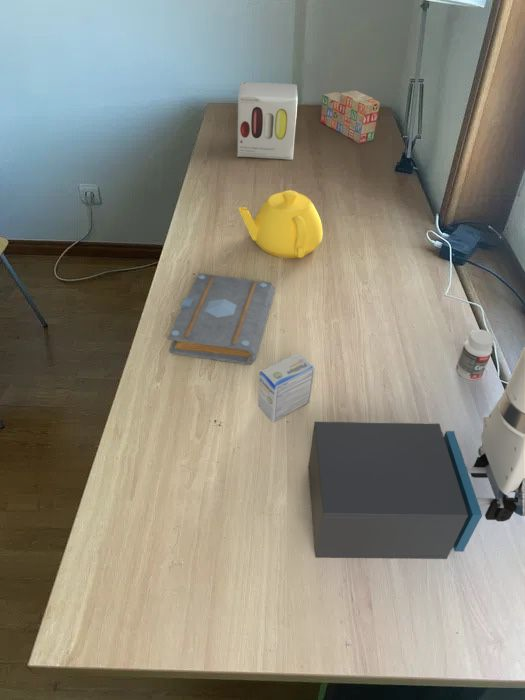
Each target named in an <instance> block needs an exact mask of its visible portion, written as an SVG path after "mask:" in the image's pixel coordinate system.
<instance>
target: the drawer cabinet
mask: <svg viewBox="0 0 525 700" xmlns="http://www.w3.org/2000/svg"><path fill="white" fill-rule="evenodd" d="M307 469H308V470H307V471H308V482H309V495H310V505H311V506H310V509H311V519H312V520H311V521H312V531H313V544H314V545H313V547H314V557H315V558H316V559H317V558H319V559H320V558H321V559H323V558H325V559H407V560H408V559H409V560H410V559H414V560H415V559H419V560H420V559H421V560H424V559H425V560H428V559H429V560H432V559H433V560H437V559H438V560H447V559H448V557H449V555H450V553H451V551H452V549H453V548H454V547H453V545H454V543H455V541H456V539H457V537H458V535H459V533H460V531H461V529H462V527H463V525H464V523H465V521H466V519H467V517H468V513H467V510H466V507H465V503H464V500H463V497H462V494H461V491H460V488H459V484H458V481H457V478H456V475H455V472H454V468H453V465H452V462H451V459H450V456H449V453H448V449H447V446H446V443H445V440H444V433H443V431H442V428H441V424H440V423H433V422H432V423H429V422H428V423H427V422H425V423H424V422H368V421H367V422H366V421H365V422H364V421H363V422H362V421H360V422H359V421H314V423H313V430H312V437H311V444H310V452H309V459H308V466H307Z"/></svg>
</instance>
